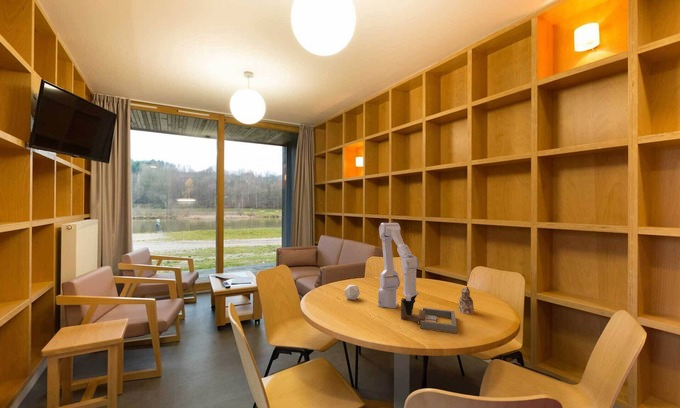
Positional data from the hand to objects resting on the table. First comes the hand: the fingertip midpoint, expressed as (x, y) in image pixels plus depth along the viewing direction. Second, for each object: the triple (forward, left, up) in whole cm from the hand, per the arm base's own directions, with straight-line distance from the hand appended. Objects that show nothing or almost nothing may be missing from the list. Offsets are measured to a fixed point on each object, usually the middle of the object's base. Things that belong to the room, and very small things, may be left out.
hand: (409, 311), depth 138 cm
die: (-34, +20, -4) cm, 40 cm away
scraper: (+1, 0, -3) cm, 4 cm away
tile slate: (+9, +3, -4) cm, 10 cm away
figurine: (+26, +20, -4) cm, 33 cm away
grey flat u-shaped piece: (+12, 0, -3) cm, 12 cm away
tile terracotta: (+9, -3, -4) cm, 11 cm away
